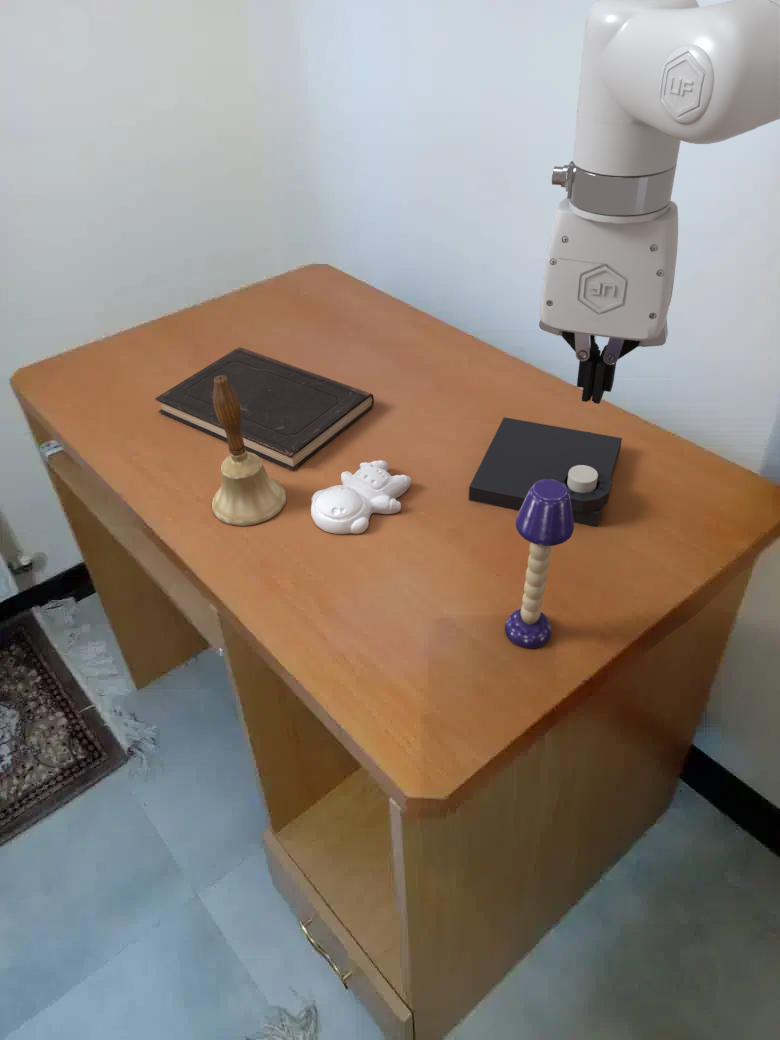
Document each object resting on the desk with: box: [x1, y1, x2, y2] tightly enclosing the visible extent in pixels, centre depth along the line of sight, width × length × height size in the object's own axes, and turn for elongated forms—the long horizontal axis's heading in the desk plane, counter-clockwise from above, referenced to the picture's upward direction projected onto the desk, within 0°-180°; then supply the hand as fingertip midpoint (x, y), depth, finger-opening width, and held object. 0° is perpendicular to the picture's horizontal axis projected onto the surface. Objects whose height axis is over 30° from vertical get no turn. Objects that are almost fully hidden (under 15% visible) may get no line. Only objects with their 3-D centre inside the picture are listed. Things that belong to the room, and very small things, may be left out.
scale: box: [468, 416, 623, 528], centre depth 88 cm, size 14×14×4 cm
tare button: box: [567, 465, 598, 493], centre depth 82 cm, size 3×3×2 cm
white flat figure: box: [310, 459, 412, 535], centre depth 86 cm, size 9×12×3 cm
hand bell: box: [211, 375, 287, 527], centre depth 83 cm, size 8×8×16 cm
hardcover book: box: [155, 346, 375, 472], centre depth 101 cm, size 16×23×2 cm
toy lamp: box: [504, 479, 575, 649], centre depth 67 cm, size 5×5×17 cm
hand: (593, 394), depth 72 cm, fingers closed
